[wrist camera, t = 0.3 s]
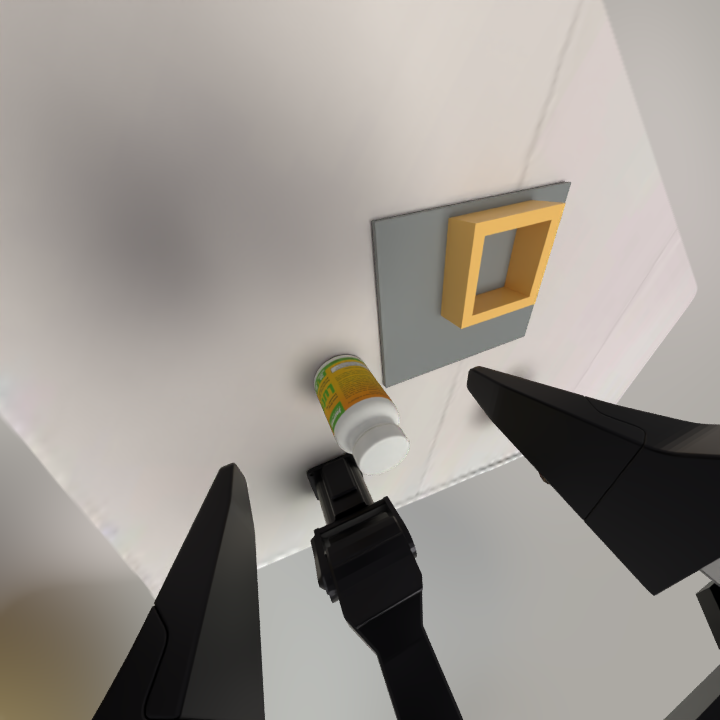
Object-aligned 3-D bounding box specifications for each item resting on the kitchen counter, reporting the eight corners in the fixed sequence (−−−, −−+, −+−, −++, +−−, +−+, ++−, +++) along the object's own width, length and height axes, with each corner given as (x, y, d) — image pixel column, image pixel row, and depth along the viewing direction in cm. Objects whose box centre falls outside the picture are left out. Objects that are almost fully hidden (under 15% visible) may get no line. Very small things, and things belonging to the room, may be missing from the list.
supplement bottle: (311, 358, 24) (349, 442, 17) (367, 348, 26) (424, 419, 18) (314, 404, 27) (348, 492, 20) (364, 392, 29) (412, 468, 21)
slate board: (520, 334, 34) (524, 336, 33) (383, 384, 29) (386, 388, 29) (564, 181, 24) (571, 182, 24) (371, 221, 20) (375, 222, 19)
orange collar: (509, 293, 28) (534, 304, 26) (440, 315, 26) (461, 329, 24) (532, 199, 23) (565, 202, 21) (448, 218, 21) (475, 223, 19)
